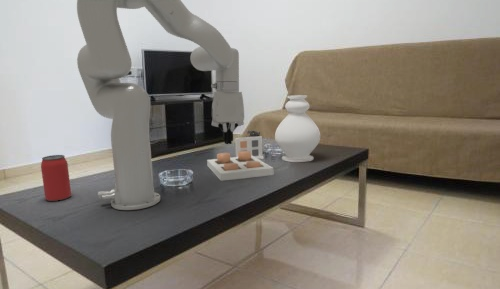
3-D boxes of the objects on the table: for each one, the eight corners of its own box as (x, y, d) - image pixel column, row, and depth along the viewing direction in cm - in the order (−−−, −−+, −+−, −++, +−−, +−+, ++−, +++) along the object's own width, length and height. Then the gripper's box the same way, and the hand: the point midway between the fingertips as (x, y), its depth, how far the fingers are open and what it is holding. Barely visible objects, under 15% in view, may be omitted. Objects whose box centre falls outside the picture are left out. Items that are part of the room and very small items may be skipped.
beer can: (53, 203, 97) (48, 160, 95) (40, 199, 100) (34, 158, 98) (76, 196, 102) (71, 155, 100) (63, 193, 106) (58, 153, 104)
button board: (221, 181, 114) (220, 173, 113) (207, 166, 134) (207, 159, 134) (273, 174, 119) (273, 167, 119) (252, 161, 140) (252, 155, 139)
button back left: (218, 164, 127) (218, 155, 126) (215, 161, 131) (215, 153, 131) (231, 162, 128) (231, 154, 128) (228, 160, 133) (228, 152, 132)
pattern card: (237, 161, 140) (236, 139, 138) (234, 159, 144) (234, 137, 142) (263, 159, 143) (263, 137, 142) (260, 157, 147) (260, 135, 145)
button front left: (226, 175, 118) (225, 166, 117) (222, 172, 122) (222, 163, 122) (240, 174, 119) (239, 165, 119) (236, 170, 124) (235, 162, 123)
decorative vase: (299, 166, 130) (299, 97, 125) (266, 159, 143) (264, 96, 139) (329, 158, 141) (330, 94, 137) (295, 152, 155) (295, 94, 150)
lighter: (264, 153, 155) (264, 130, 153) (260, 154, 152) (260, 131, 150) (248, 151, 159) (248, 129, 157) (244, 153, 156) (244, 130, 154)
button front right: (249, 173, 120) (248, 164, 120) (244, 170, 125) (244, 161, 124) (262, 172, 121) (262, 163, 121) (257, 168, 126) (257, 160, 125)
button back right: (240, 161, 129) (240, 153, 129) (236, 159, 134) (236, 151, 133) (252, 160, 131) (252, 152, 130) (248, 158, 135) (248, 150, 134)
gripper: (206, 87, 109) (208, 146, 112) (252, 87, 114) (252, 144, 117) (202, 87, 117) (203, 142, 119) (245, 87, 121) (246, 141, 124)
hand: (227, 143), depth 118 cm, fingers closed
